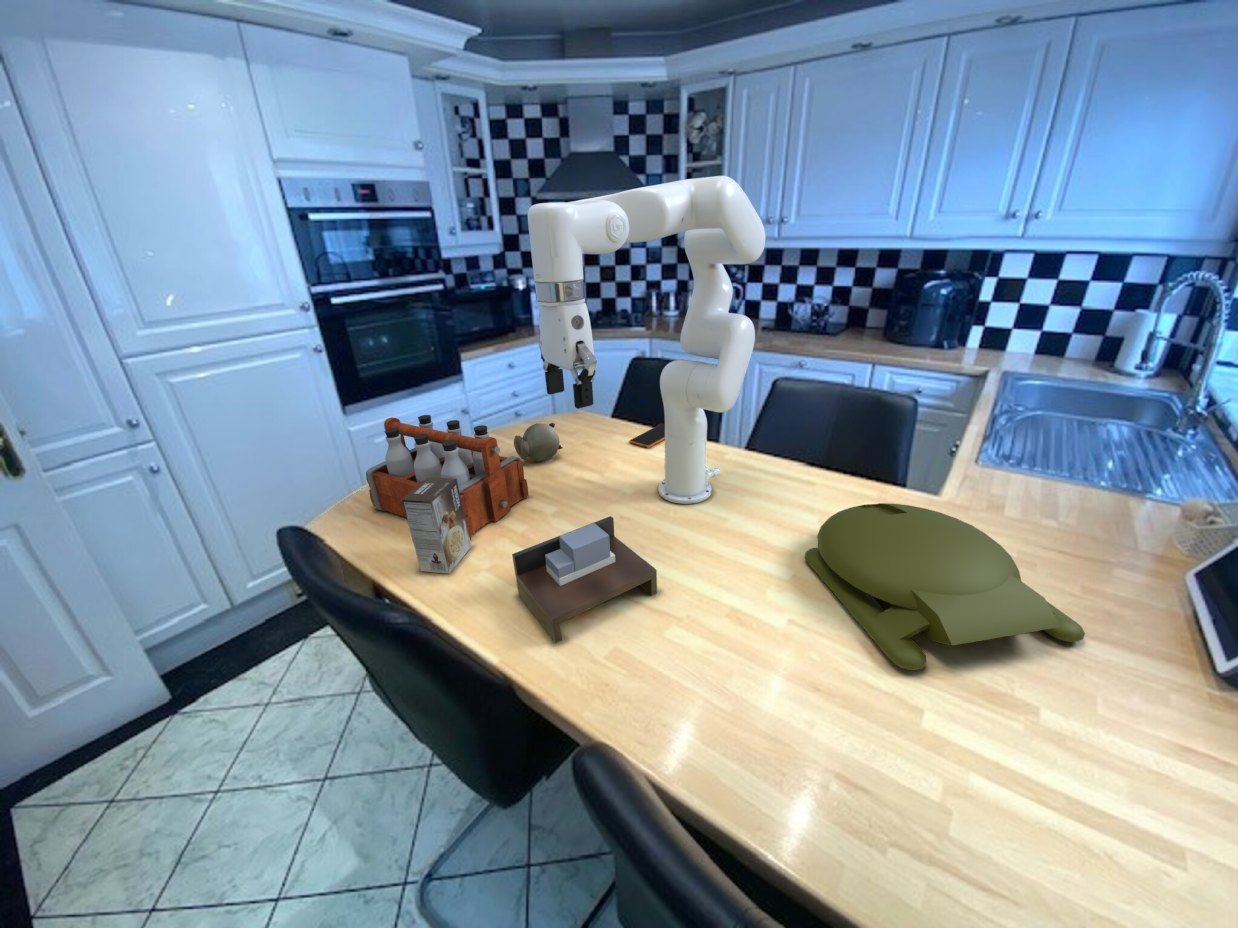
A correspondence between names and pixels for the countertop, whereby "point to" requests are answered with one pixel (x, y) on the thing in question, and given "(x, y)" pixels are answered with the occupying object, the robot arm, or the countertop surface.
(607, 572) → the shelf rack
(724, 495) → the countertop surface
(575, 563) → the stepped grey block
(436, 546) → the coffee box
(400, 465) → the milk bottle holder
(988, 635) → the spaceship
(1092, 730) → the countertop surface
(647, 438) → the smartphone
